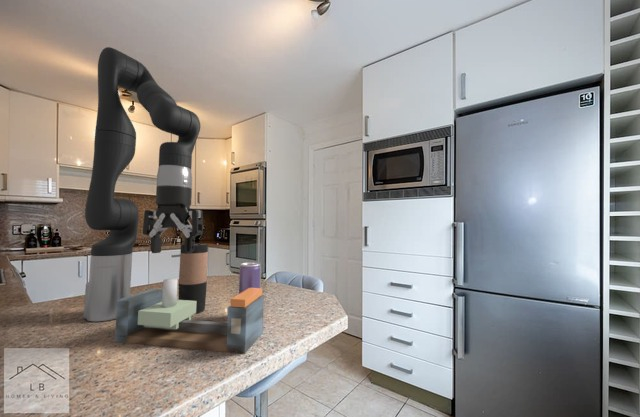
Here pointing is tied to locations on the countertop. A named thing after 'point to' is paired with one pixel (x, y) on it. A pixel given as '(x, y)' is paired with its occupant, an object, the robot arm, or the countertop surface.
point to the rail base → (179, 339)
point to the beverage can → (249, 276)
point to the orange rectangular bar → (246, 297)
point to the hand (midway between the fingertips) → (172, 253)
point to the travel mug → (194, 275)
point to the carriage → (167, 309)
